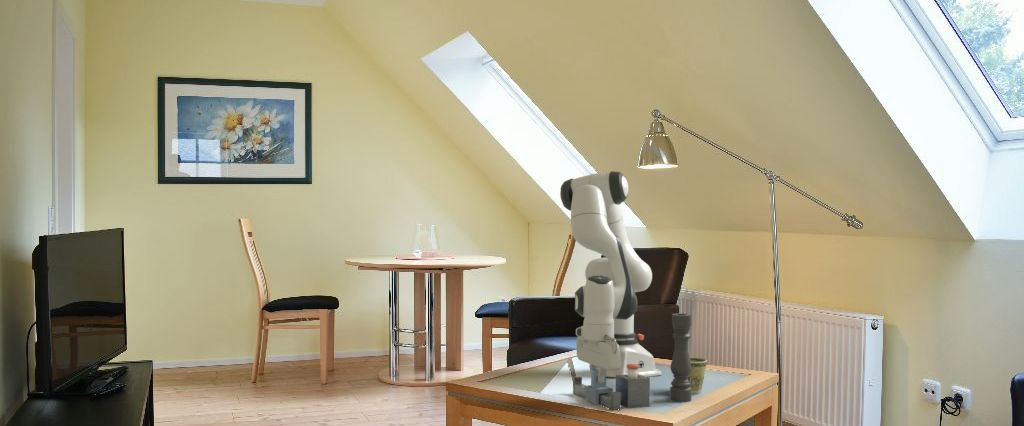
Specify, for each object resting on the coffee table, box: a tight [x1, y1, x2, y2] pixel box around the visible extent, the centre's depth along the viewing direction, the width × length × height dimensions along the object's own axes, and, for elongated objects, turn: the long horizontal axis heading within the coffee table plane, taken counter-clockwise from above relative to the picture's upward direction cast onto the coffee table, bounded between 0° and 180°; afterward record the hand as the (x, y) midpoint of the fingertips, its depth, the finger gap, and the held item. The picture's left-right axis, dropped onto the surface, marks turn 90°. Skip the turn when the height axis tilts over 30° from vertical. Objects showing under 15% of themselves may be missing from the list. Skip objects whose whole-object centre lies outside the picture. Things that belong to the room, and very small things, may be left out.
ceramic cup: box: [688, 356, 708, 395], centre depth 273 cm, size 13×10×10 cm
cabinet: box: [615, 374, 651, 409], centre depth 253 cm, size 7×7×8 cm
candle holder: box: [669, 312, 693, 403], centre depth 260 cm, size 6×6×25 cm
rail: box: [572, 376, 621, 411], centre depth 256 cm, size 2×24×5 cm, turn 23°
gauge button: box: [627, 364, 639, 378], centre depth 253 cm, size 3×3×6 cm
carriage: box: [584, 369, 614, 405], centre depth 255 cm, size 6×6×9 cm
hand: (597, 381), depth 255 cm, fingers closed on carriage, 2 cm apart
